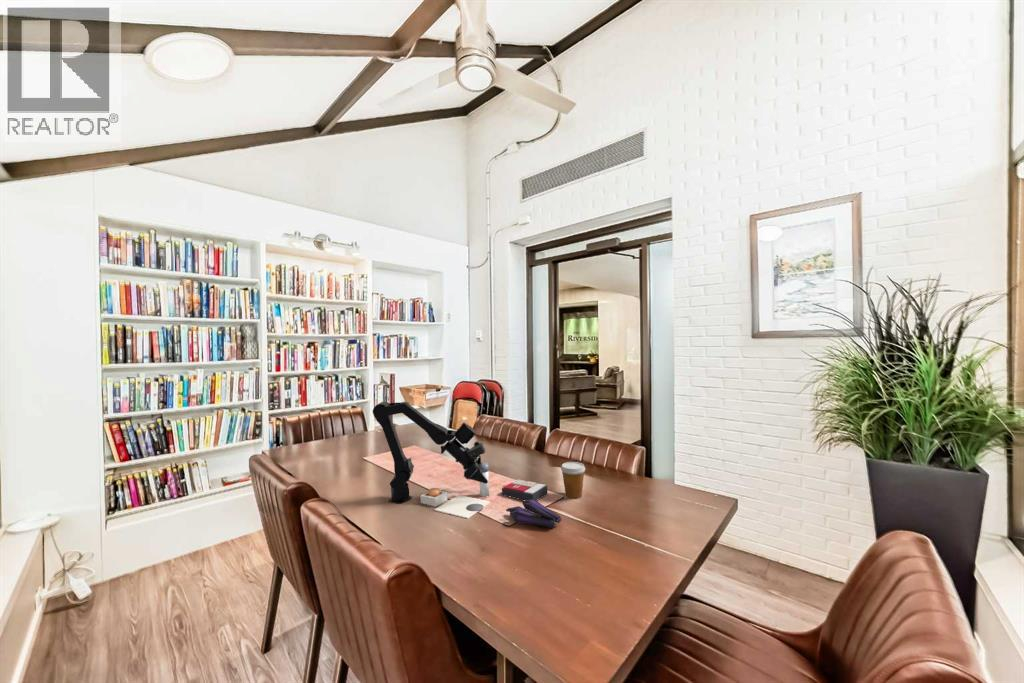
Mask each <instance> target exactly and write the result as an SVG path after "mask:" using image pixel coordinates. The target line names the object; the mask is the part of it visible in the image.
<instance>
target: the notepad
mask: <svg viewBox="0 0 1024 683" xmlns="http://www.w3.org/2000/svg"><path fill="white" fill-rule="evenodd" d="M490 502H491V501H489V500H484V499H479V498H474V497H470V496H465V495H461V494H459V495H456V496H455V497H453V498H451V499H449V500H447V502H446V501H445V502H444V503H442V504H440V505H439V506H438V507H436V508H434V512H438V513H443V514H446V515H450V514H451V516H456V517H459V518H464V519H470V518H471V517H473V516H474V515H475V514H477V513H478V512H479V510H480V511H481V510H483V509H484V508H485V507H487V506H489V505H490V504H491V503H490ZM489 503H490V504H489ZM486 505H487V506H486ZM483 507H484V508H483Z"/></svg>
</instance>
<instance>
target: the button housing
mask: <svg viewBox="0 0 1024 683" xmlns="http://www.w3.org/2000/svg"><path fill="white" fill-rule="evenodd" d="M446 501H448V491H443V490H440V495H438V496H437V497H431V496H428V491H427V492H425V493H423V494H421V495H420V504H422V503H423V504H422V505H426V504H427V505H426V506H430V505H431V507H436V508H437V506H438V507H439V506H440V505H442V504H444V503H445V502H446Z"/></svg>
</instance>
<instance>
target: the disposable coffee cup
mask: <svg viewBox="0 0 1024 683" xmlns="http://www.w3.org/2000/svg"><path fill="white" fill-rule="evenodd" d="M560 470H561V473H562V480H563V486H564V493H565V497H566V498H568V499H571V500H572V499H574V500H575V499H580V498H582V496H583V486H584V478H585V477H584V476H585V472H586V467H585V465H584V464H583V463H581V462H578V461H567V462H564V463H562V464H561V467H560Z"/></svg>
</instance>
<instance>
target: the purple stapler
mask: <svg viewBox="0 0 1024 683" xmlns="http://www.w3.org/2000/svg"><path fill="white" fill-rule="evenodd" d="M521 504H522V505H523V507H521V506H519V505H517V506H514V507H513V506H512V507H508V508H506V510H505V511H506V512H509V516H510V517H511V518H512V520H513V521H514V522H515V523H516V524H517V523H519V525H535V526H542V527H545V528H550V529H552V530H553V528H554V529H556V527H557V523H558V524H560V523H561V521H562V516H560V515H558V514H557V513H555V512H554V511H552V510H550V509H549V508H548V507H546V506H545V505H543V504H541V503H540V502H539V501H538V500H537V501H536V500H534V499H530V500H525V501H523V500H521Z"/></svg>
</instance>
